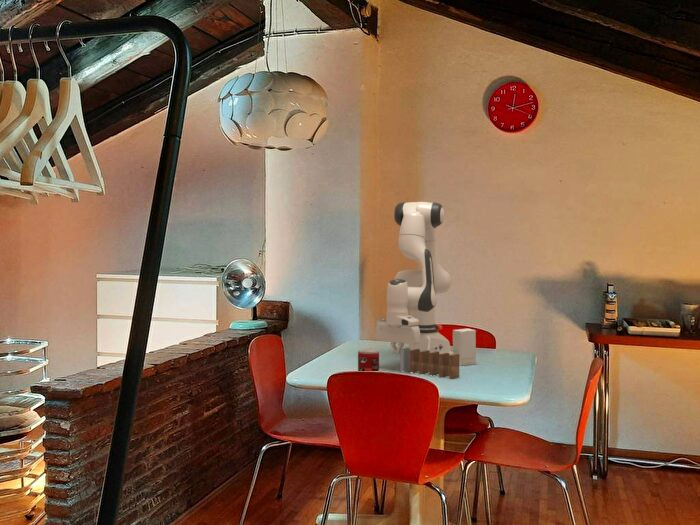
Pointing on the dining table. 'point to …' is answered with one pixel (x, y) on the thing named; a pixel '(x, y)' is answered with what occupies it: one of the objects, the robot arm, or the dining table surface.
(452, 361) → the domino
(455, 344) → the skincare box
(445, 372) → the domino
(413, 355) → the domino
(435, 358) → the domino
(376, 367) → the canned food
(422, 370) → the domino
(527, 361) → the dining table surface
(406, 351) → the domino
